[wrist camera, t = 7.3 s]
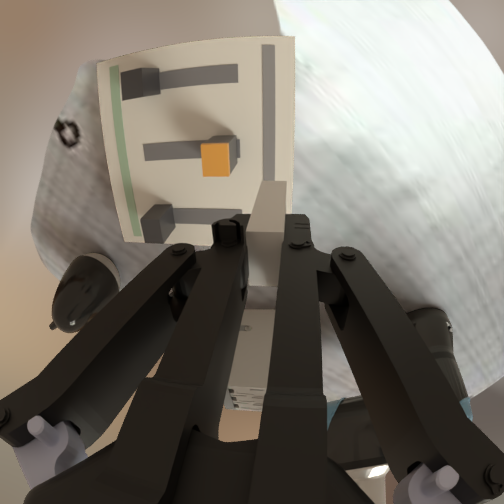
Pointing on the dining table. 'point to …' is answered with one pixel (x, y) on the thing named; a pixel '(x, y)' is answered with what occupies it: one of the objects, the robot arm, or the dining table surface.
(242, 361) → the circuit breaker
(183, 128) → the breaker panel
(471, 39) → the dining table surface
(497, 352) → the dining table surface
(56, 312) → the pump dispenser
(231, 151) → the block
